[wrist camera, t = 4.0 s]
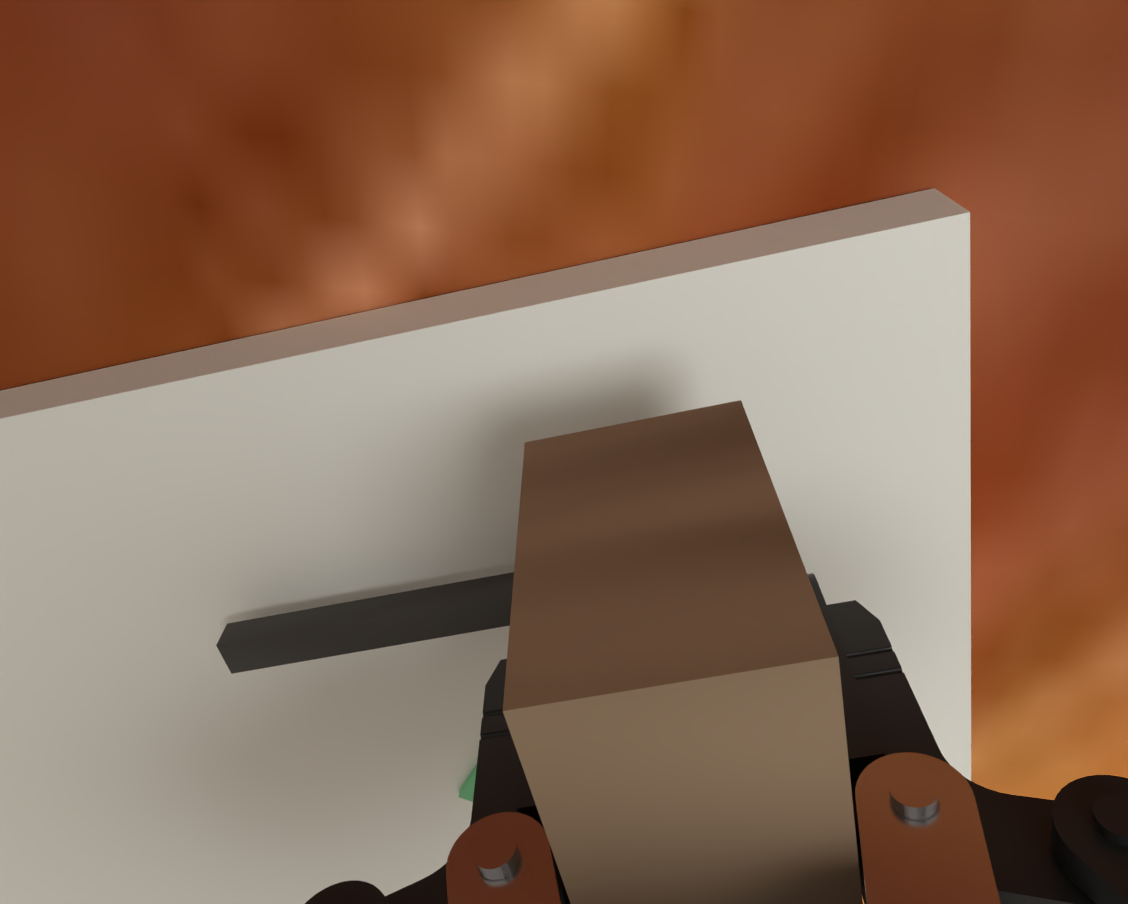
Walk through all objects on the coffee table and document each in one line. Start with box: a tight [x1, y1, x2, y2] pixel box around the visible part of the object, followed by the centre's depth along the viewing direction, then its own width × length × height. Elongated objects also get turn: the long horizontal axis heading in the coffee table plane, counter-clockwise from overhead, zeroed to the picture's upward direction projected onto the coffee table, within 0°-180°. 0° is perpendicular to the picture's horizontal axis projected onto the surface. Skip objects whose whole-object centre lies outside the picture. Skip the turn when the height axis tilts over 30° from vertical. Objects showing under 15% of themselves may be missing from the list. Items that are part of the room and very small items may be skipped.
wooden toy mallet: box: [216, 400, 863, 904], centre depth 13 cm, size 8×10×7 cm
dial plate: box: [0, 188, 971, 904], centre depth 19 cm, size 16×23×2 cm
